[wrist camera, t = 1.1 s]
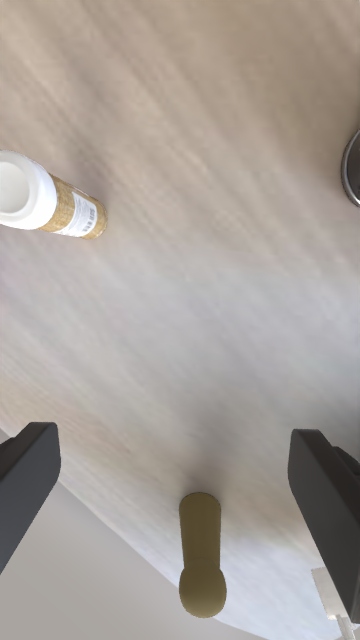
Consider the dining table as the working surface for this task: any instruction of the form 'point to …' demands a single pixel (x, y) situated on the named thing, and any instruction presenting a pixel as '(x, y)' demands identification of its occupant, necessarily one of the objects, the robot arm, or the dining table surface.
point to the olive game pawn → (201, 556)
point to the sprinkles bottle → (45, 200)
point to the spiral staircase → (333, 602)
